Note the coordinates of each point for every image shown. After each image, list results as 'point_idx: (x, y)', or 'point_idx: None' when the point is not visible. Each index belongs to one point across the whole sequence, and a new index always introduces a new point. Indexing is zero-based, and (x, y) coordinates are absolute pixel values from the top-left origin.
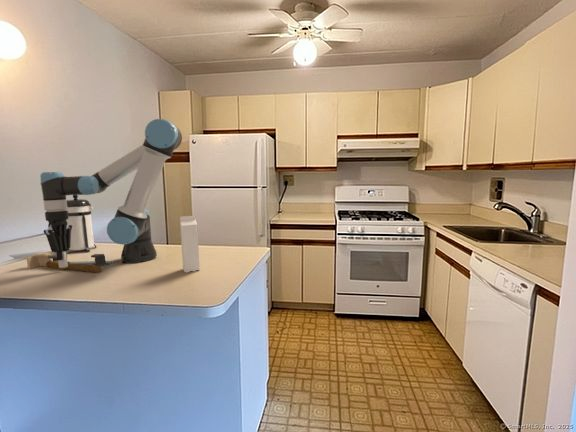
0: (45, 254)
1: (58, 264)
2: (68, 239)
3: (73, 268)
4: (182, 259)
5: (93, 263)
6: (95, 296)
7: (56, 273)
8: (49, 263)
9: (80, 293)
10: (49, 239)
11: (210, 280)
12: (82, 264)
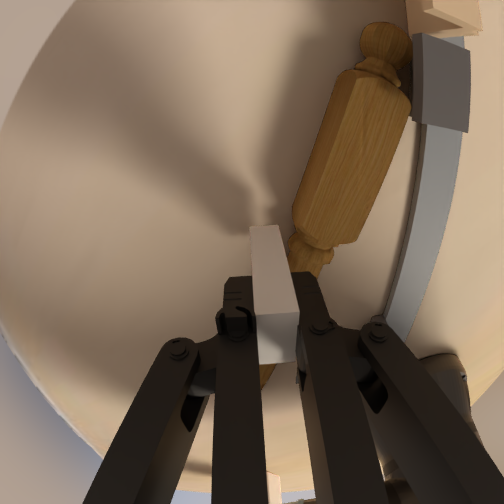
0: (432, 8)
1: (318, 176)
2: (389, 447)
3: None
4: (268, 489)
5: (389, 304)
6: (82, 426)
7: (211, 221)
8: (376, 54)
9: (76, 407)
10: (102, 497)
11: (203, 485)
12: (403, 244)
